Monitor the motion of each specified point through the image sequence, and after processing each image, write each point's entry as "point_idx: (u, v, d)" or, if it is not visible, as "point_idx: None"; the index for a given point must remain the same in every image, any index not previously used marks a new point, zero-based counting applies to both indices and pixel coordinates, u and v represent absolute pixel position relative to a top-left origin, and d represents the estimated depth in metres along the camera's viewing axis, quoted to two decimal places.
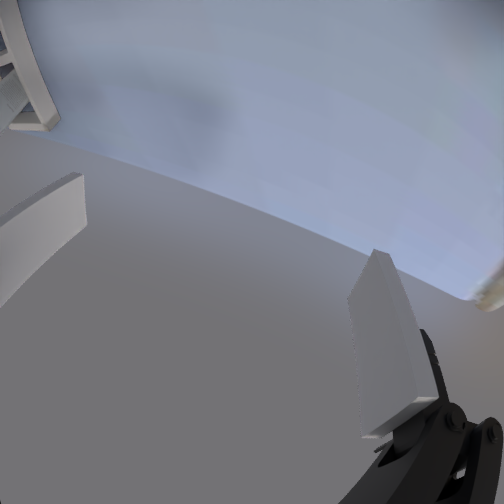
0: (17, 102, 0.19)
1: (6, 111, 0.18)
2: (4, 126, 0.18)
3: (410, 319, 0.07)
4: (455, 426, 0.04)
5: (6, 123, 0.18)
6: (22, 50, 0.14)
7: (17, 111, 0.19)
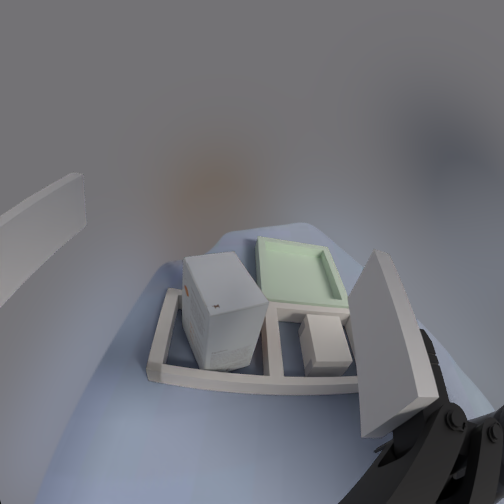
0: (216, 359, 0.25)
1: (220, 347, 0.24)
2: (209, 341, 0.23)
3: (410, 319, 0.07)
4: (455, 426, 0.04)
5: (209, 343, 0.23)
6: (273, 390, 0.26)
7: (207, 356, 0.24)
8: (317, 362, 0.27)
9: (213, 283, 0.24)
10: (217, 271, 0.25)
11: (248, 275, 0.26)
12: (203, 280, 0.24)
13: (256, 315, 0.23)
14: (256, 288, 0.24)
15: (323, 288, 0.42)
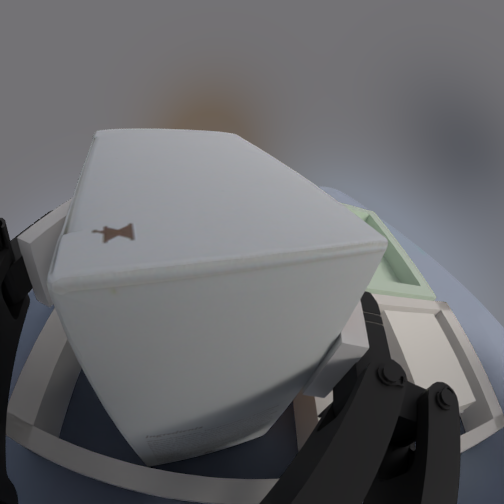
0: (167, 444, 0.06)
1: (174, 425, 0.05)
2: (114, 410, 0.04)
3: None
4: (391, 381, 0.05)
5: (121, 418, 0.04)
6: None
7: (133, 441, 0.05)
8: None
9: (147, 164, 0.05)
10: (175, 145, 0.07)
11: (283, 165, 0.07)
12: (115, 158, 0.05)
13: (332, 305, 0.05)
14: (322, 194, 0.06)
15: (382, 269, 0.23)
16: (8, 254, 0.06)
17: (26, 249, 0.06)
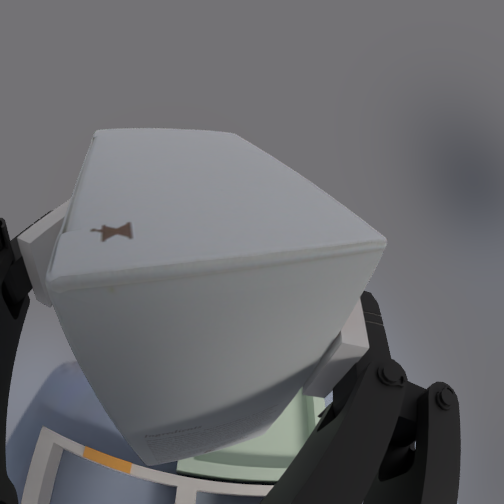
0: (166, 444, 0.06)
1: (172, 425, 0.05)
2: (113, 410, 0.04)
3: None
4: (391, 381, 0.05)
5: (120, 417, 0.04)
6: None
7: (132, 441, 0.05)
8: None
9: (146, 164, 0.05)
10: (174, 145, 0.07)
11: (282, 165, 0.07)
12: (114, 157, 0.05)
13: (332, 304, 0.05)
14: (321, 194, 0.06)
15: (295, 433, 0.22)
16: (8, 254, 0.06)
17: (26, 249, 0.06)
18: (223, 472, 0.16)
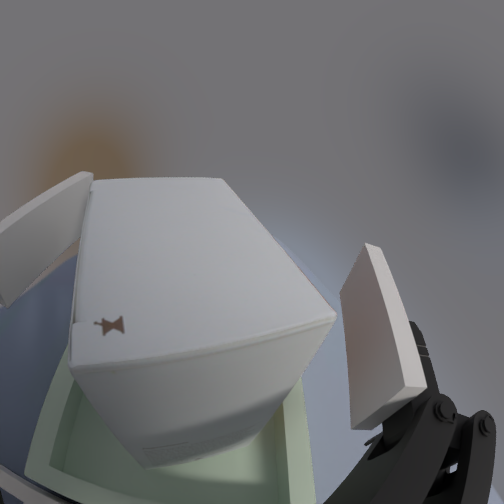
0: (160, 454, 0.07)
1: (164, 441, 0.06)
2: (117, 432, 0.05)
3: (400, 310, 0.07)
4: (444, 417, 0.04)
5: (122, 436, 0.05)
6: None
7: (132, 451, 0.07)
8: None
9: (135, 240, 0.06)
10: (160, 208, 0.08)
11: (258, 226, 0.08)
12: (107, 229, 0.06)
13: (285, 364, 0.06)
14: (286, 264, 0.07)
15: None
16: None
17: None
18: (95, 500, 0.06)
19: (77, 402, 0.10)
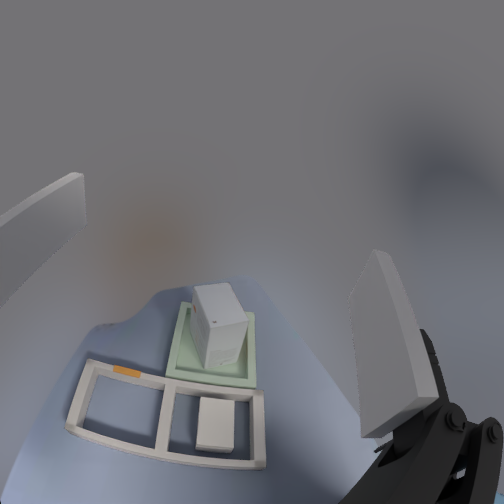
0: (213, 356, 0.37)
1: (216, 348, 0.36)
2: (209, 343, 0.35)
3: (410, 319, 0.07)
4: (455, 426, 0.04)
5: (209, 345, 0.35)
6: (159, 459, 0.25)
7: (207, 353, 0.36)
8: (198, 444, 0.26)
9: (213, 306, 0.36)
10: (215, 297, 0.37)
11: (237, 301, 0.38)
12: (206, 303, 0.36)
13: (241, 328, 0.35)
14: (241, 310, 0.36)
15: None
16: None
17: None
18: (191, 376, 0.35)
19: (179, 350, 0.40)
